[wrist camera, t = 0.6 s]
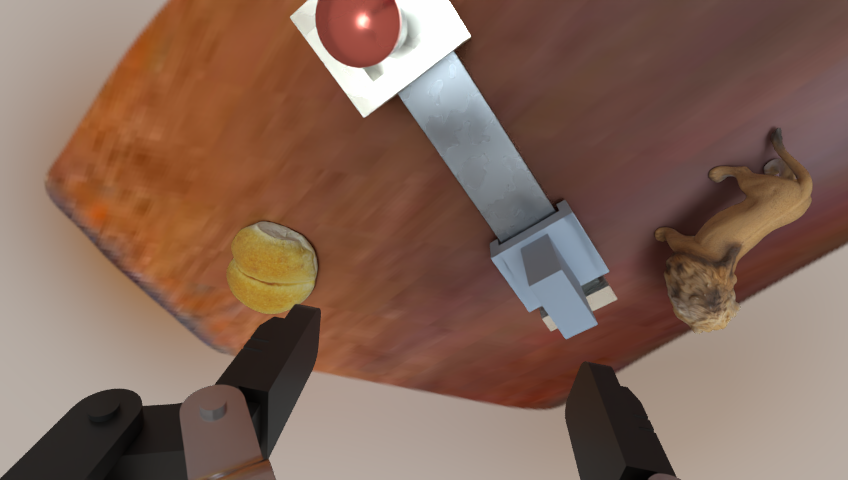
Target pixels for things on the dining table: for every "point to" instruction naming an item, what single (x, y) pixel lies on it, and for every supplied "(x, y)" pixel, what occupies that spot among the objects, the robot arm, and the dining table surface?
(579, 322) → the carriage
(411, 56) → the rail station
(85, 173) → the dining table surface
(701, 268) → the lion figurine
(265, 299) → the bread roll
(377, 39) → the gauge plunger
